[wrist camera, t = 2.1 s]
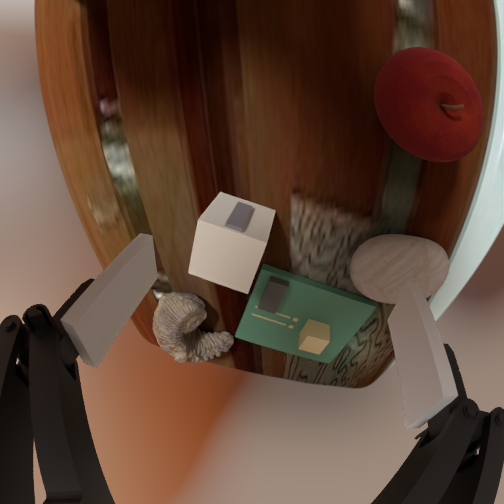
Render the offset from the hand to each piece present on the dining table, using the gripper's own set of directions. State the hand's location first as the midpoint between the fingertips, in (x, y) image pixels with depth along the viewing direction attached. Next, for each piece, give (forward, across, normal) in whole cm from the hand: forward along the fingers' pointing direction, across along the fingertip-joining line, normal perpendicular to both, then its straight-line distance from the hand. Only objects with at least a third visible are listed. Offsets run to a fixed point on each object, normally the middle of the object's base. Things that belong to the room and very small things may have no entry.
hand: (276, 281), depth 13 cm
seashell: (+18, -11, -23) cm, 31 cm away
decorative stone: (+18, +14, -7) cm, 24 cm away
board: (+17, +5, -20) cm, 26 cm away
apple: (+17, +10, +11) cm, 23 cm away
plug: (+17, -5, -6) cm, 19 cm away
